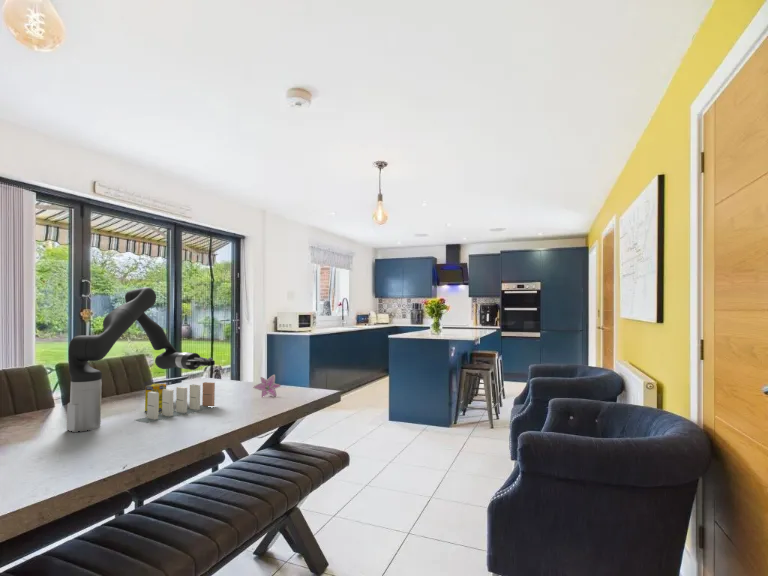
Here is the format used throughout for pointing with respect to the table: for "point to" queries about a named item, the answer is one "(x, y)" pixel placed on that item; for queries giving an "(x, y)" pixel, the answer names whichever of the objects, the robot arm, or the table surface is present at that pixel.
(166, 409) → the tile
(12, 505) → the table surface
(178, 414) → the domino mat
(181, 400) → the tile
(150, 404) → the end tile
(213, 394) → the tile
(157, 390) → the supplement box
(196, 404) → the tile
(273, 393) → the lily
